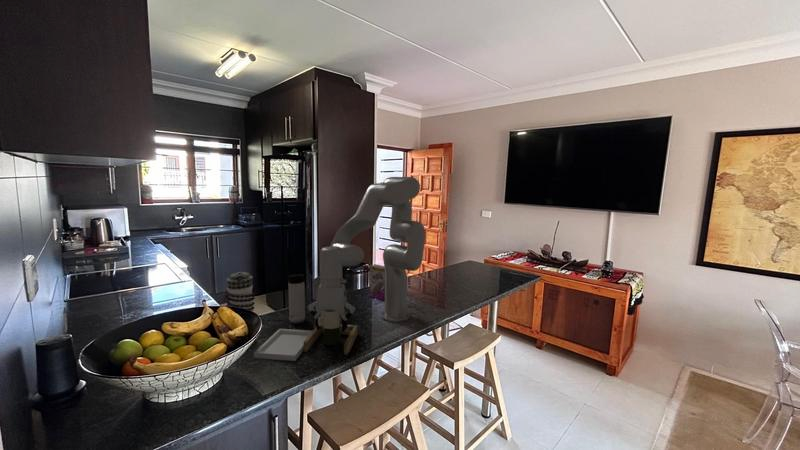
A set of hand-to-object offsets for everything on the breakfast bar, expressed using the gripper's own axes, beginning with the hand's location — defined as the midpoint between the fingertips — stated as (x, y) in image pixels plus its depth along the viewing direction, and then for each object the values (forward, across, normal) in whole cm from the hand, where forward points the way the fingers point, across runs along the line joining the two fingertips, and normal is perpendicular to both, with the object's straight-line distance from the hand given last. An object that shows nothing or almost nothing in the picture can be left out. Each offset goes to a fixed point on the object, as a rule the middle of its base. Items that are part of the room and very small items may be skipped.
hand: (331, 329), depth 116 cm
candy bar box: (+5, -10, -49) cm, 50 cm away
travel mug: (+6, +20, -17) cm, 27 cm away
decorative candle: (+6, +32, +3) cm, 33 cm away
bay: (+5, 0, 0) cm, 5 cm away
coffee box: (+5, +12, -27) cm, 30 cm away
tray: (+5, +15, +4) cm, 16 cm away
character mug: (+6, 0, 0) cm, 6 cm away
